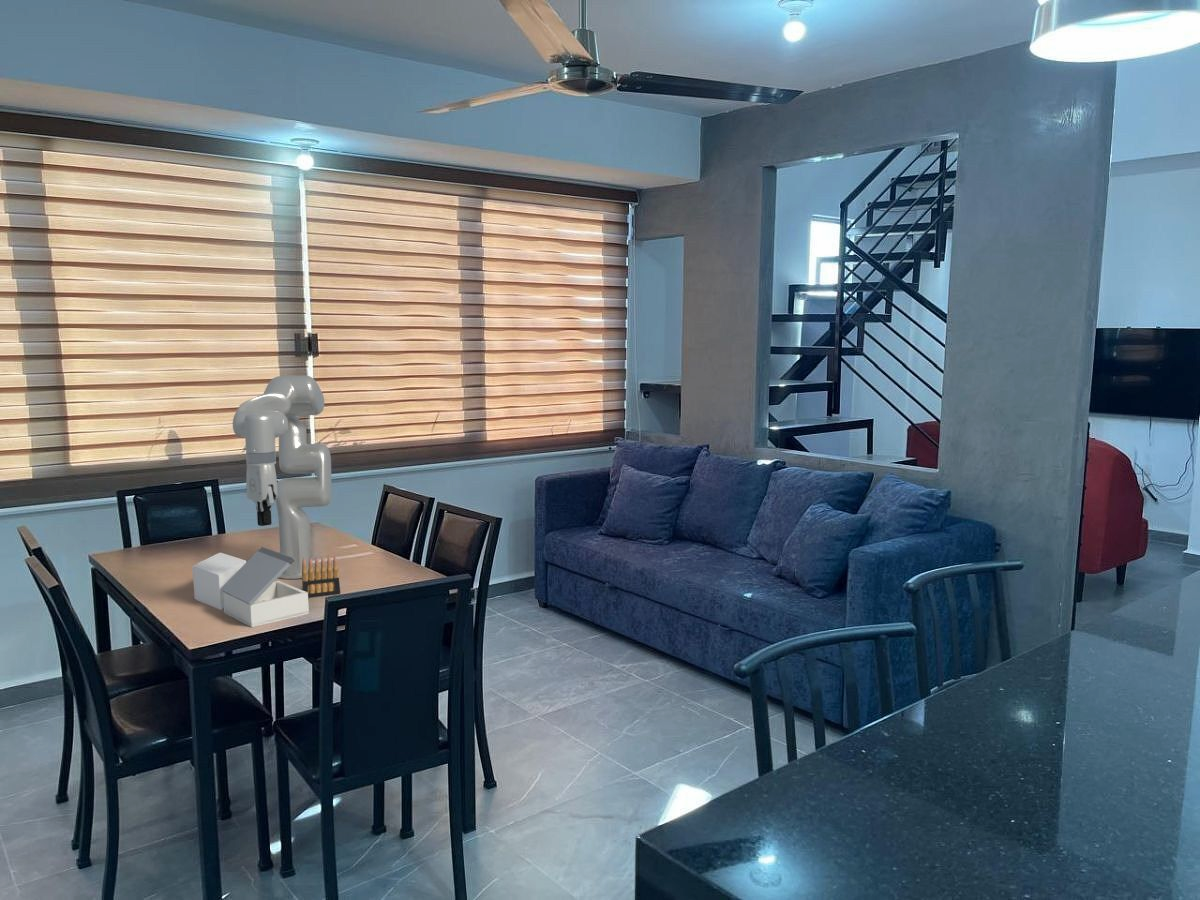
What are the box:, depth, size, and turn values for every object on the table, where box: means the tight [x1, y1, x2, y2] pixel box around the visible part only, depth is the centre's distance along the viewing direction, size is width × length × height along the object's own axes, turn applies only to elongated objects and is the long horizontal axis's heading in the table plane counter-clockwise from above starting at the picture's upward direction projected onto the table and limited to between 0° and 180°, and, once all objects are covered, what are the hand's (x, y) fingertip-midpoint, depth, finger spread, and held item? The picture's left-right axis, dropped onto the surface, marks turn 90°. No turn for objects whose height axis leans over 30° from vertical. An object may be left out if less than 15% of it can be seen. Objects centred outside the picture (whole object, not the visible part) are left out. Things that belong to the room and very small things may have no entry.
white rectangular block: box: [191, 552, 247, 611], centre depth 256 cm, size 14×29×10 cm, turn 23°
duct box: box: [223, 580, 310, 628], centre depth 240 cm, size 18×17×6 cm
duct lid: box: [220, 546, 295, 605], centre depth 237 cm, size 19×16×1 cm
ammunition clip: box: [301, 554, 341, 599], centre depth 256 cm, size 11×2×12 cm, turn 114°
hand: (264, 524), depth 237 cm, fingers closed
